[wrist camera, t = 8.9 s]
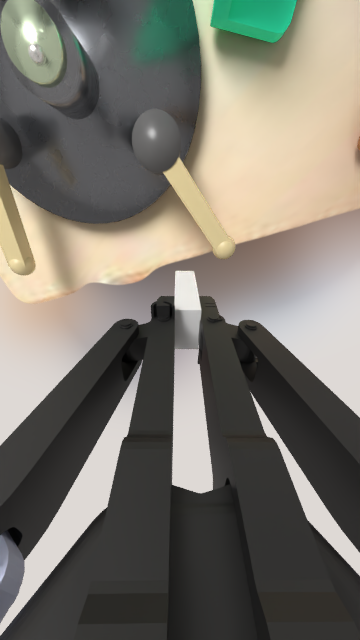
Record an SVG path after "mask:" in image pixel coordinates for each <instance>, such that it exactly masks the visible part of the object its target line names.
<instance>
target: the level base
mask: <svg viewBox="0 0 360 640" xmlns="http://www.w3.org/2000/svg"><path fill="white" fill-rule="evenodd" d="M200 88H201V59H200V46H199V35H198V29H197V23H196V17H195V11H194V6H193V2H192V0H0V118H2V119H4V120H5V121H6V122H7V123H8V124H9V125H10V126H11V127H12V128H13V129H14V131H15V132H16V134H17V135H18V137H19V140H20V142H21V146H22V159H21V162H20V163H19V165H18V166H17V167H15V168H12V169H5V172H6V175H7V178H8V182H9V184H10V185H11V186H12V187H13V188H15V189H16V190H17V191H18V192H20V193H21V194H22V195H23V196H25V197H26V198H27V199H29V200H30V201H32V202H34V203H35V204H37V205H38V206H40V207H42V208H44V209H46V210H47V211H49V212H51V213H53V214H56V215H58V216H61V217H64V218H66V219H70V220H74V221H78V222H84V223H94V224H96V223H110V222H116V221H120V220H123V219H126V218H129V217H132V216H134V215H135V214H137V213H139V212H141V211H143V210H145V209H146V208H147V207H149V206H150V205H151V204H153V203H154V202H155V201H156V200H157V199H158V198H159V197H160V196H161V195H162V194H163V193H164V192H165V191H166V190H167V189H168V187H169V186H170V185H171V184H170V182H169V181H168V179H167V178H166V176H165V175H157V174H154V173H152V172H150V171H149V170H148V169H146V168H145V167H143V166H142V165H141V163H140V162H139V161H138V159H137V158H136V155H135V153H134V150H133V146H132V132H133V128H134V125H135V122H136V121H137V119H138V118H139V116H140V115H141V114H142V113H144V112H145V111H147V110H150V109H160V110H163V111H165V112H166V113H168V114H169V115H170V116H171V117H172V118H173V119H174V121H175V122H176V124H177V126H178V128H179V132H180V136H181V152H180V159H181V161H182V163H183V162H184V160H185V157H186V155H187V153H188V150H189V147H190V143H191V140H192V137H193V133H194V129H195V124H196V119H197V114H198V107H199V98H200Z"/></svg>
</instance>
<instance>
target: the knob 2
mask: <svg viewBox="0 0 360 640" xmlns="http://www.w3.org/2000/svg"><path fill="white" fill-rule="evenodd" d="M132 146H133V150H134V153H135V155H136V158H137V159H138V161H139V162H140V163H141V165H142V166H143V167H145V168H146V169H148V170H149V171H150V172H152V173H154V174H157V175H165V176H166V178H167V179H168V181H169V182H170V184H171V185H172V187H173V188H174V190H175V191H176V193H177V194H178V196H179V197H180V199H181V200H182V202H183V203H184V205H185V206H186V208H187V209H188V211H189V212H190V214H191V215H192V217H193V218H194V220H195V221H196V223H197V224H198V226H199V227H200V229H201V230H202V232H203V233H204V235H205V236H206V238H207V239H208V241H209V242H210V244H211V245H212V250H213V253H214V255H215V256H216V257H217V258H219V259H227V258H229V257H230V256H231V255H232V254H233V253H234V251H235V243H234V240H233V239H232V238H231V237H229V236H227V234H226V233H225V231H224V229H223V228H222V226H221V224H220V223H219V221H218V220H217V218H216V216H215V215H214V213H213V211H212V210H211V208H210V207H209V205H208V203H207V202H206V200H205V198H204V197H203V195H202V194H201V192H200V190H199V189H198V187H197V185H196V184H195V182H194V181H193V179H192V177H191V176H190V174H189V172H188V171H187V169H186V168H185V166H184V164H183V163H182V161H181V159H180V152H181V136H180V132H179V128H178V126H177V124H176V122H175V121H174V119H173V118H172V117H171V116H170V115H169V114H168V113H166V112H165V111H163V110H160V109H150V110H147V111H145V112H144V113H142V114H141V115H140V116H139V118H138V119H137V121H136V122H135V125H134V128H133V132H132Z"/></svg>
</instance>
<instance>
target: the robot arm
mask: <svg viewBox="0 0 360 640" xmlns="http://www.w3.org/2000/svg"><path fill="white" fill-rule="evenodd" d="M151 314H152V319H151V321H150V322H148V323H146V324H142V325H138V322H137V321H135V320H132V319H123V320H120V321H118V322H116V323H115V324H114V325H113V326H112V327H111V328H110V329H109V330H108V331H107V332H106V334H104V336H103V337H102V338H101V339H100V340H99V341H98V342H97V343H96V344H95V345H94V346H93V347H92V348H91V349H90V350H89V352H88V353H87V354H86V355H85V356H84V357H83V358H82V359H81V360H80V361H79V362H78V363H77V364H76V365H75V367H74V368H73V369H72V370H71V371H70V372H69V373H68V374H67V375H66V376H65V377H64V378H63V379H62V380H61V381H60V383H59V384H58V385H57V386H56V387H55V388H54V389H53V390H52V391H51V392H50V393H49V394H48V396H46V398H45V399H44V400H43V401H42V402H41V403H40V404H39V405H38V406H37V407H36V408H35V409H34V410H33V411H32V413H31V414H30V415H29V416H28V417H27V418H26V419H25V420H24V421H23V422H22V423H21V424H20V425H19V427H18V428H17V429H16V430H15V431H14V432H13V433H12V434H11V435H10V436H9V437H8V438H7V439H6V440H5V441H4V442H3V444H2V445H1V446H0V623H1V621H2V619H3V618H4V616H5V614H6V613H7V611H8V609H9V608H10V606H11V605H12V604H13V603H14V601H15V599H16V597H17V595H18V593H19V589H20V586H21V584H22V580H23V576H24V560H25V559H26V557H27V556H28V555H29V554H30V552H31V551H32V550H33V548H34V547H35V545H36V544H37V543H38V541H39V540H40V538H41V537H42V535H43V534H44V533H45V531H46V530H47V528H48V527H49V525H50V523H51V522H52V520H53V518H54V517H55V515H56V513H57V512H58V510H59V508H60V507H61V505H62V503H63V501H64V500H65V498H66V496H67V494H68V492H69V491H70V489H71V487H72V485H73V483H74V482H75V480H76V478H77V477H78V475H79V473H80V471H81V469H82V468H83V466H84V464H85V462H86V460H87V459H88V457H89V455H90V453H91V452H92V450H93V448H94V446H95V445H96V443H97V441H98V439H99V437H100V436H101V434H102V432H103V430H104V429H105V427H106V425H107V423H108V421H109V420H110V418H111V416H112V414H113V413H114V411H115V409H116V407H117V405H118V404H119V402H120V400H121V398H122V397H123V395H124V393H125V391H126V389H127V388H128V386H129V384H130V382H131V381H132V379H133V377H134V375H135V374H136V372H137V370H138V368H139V366H140V365H141V362H142V360H143V363H142V368H141V374H140V378H139V383H138V388H137V393H136V398H135V403H134V408H133V413H132V418H131V422H130V427H129V432H128V435H127V437H125V438H124V440H123V441H122V445H121V448H120V453H119V457H118V462H117V466H116V471H115V475H114V480H113V485H112V489H111V494H110V498H109V503H108V507H107V508H106V509H105V510H104V511H102V512H101V513H100V514H99V515H98V516H97V517H96V518H95V519H94V521H93V522H92V523H91V524H90V525H89V527H88V528H87V529H86V530H85V531H84V533H83V534H82V535H81V536H80V538H79V539H78V540H77V541H76V543H75V544H74V545H73V546H72V548H71V549H70V550H69V551H68V553H67V554H66V555H65V557H64V558H63V559H62V560H61V561H60V563H59V564H58V565H57V566H56V567H55V569H54V570H53V571H52V572H51V574H50V575H49V576H48V578H47V579H46V580H45V581H44V582H43V584H42V585H41V586H40V587H39V589H38V590H37V591H36V593H35V594H34V595H33V596H32V597H31V599H30V600H29V601H28V602H27V604H26V605H25V606H24V607H23V609H22V610H21V611H20V612H19V613H18V615H17V616H16V617H15V618H14V620H13V621H12V623H10V625H9V626H8V627H7V628H6V630H5V631H4V632H3V633H2V635H1V636H0V640H360V576H359V575H358V574H357V573H356V572H355V571H354V570H353V568H352V567H351V566H350V565H349V564H348V563H347V562H346V561H345V560H344V559H343V558H342V557H341V555H339V553H338V552H337V551H336V550H335V549H334V548H333V547H332V546H331V545H330V544H329V543H328V542H327V540H326V539H325V538H324V537H323V536H322V535H321V534H320V533H319V532H318V531H317V530H316V529H315V528H314V527H313V525H311V523H309V521H308V520H307V518H306V516H305V513H304V511H303V508H302V506H301V503H300V500H299V498H298V495H297V493H296V490H295V488H294V485H293V482H292V480H291V477H290V475H289V472H288V470H287V467H286V464H285V462H284V459H283V457H282V454H281V452H280V449H279V447H278V445H277V443H276V442H275V440H274V439H273V438H270V437H267V436H266V434H265V432H264V430H263V427H262V424H261V421H260V418H259V415H258V413H257V410H256V407H255V404H254V401H253V398H252V396H251V393H252V394H253V396H254V398H255V399H256V401H257V402H258V404H259V405H260V407H261V408H262V410H263V411H264V413H265V415H266V416H267V418H268V419H269V421H270V422H271V424H272V425H273V427H274V428H275V430H276V431H277V433H278V434H279V436H280V438H281V439H282V441H283V442H284V444H285V445H286V447H287V448H288V450H289V451H290V453H291V454H292V456H293V457H294V459H295V460H296V462H297V464H298V465H299V467H300V468H301V470H302V471H303V473H304V474H305V476H306V477H307V479H308V480H309V482H310V484H311V485H312V486H313V488H314V490H315V491H316V493H317V494H318V496H319V497H320V499H321V500H322V502H323V503H324V505H325V506H326V508H327V509H328V511H329V512H330V514H331V515H332V517H333V518H334V520H335V521H336V522H337V524H338V525H339V526H340V528H341V530H342V531H343V532H344V533H345V534H346V536H347V537H348V538H349V540H350V541H351V542H352V543H353V545H354V546H355V547H356V548H357V549H358V551H359V552H360V418H359V417H358V416H357V415H356V414H355V413H354V412H353V411H352V410H351V409H350V408H349V407H348V406H347V405H346V404H345V403H344V402H343V401H342V400H340V399H339V398H338V397H337V396H336V395H335V394H334V393H333V392H332V391H331V390H330V389H329V388H328V387H327V386H326V385H324V383H322V382H321V381H320V380H319V379H318V378H317V377H316V376H315V375H314V374H313V373H312V372H311V371H310V370H309V369H308V368H307V367H306V366H305V365H304V364H302V363H301V362H300V361H299V360H298V359H297V358H296V357H295V356H294V355H293V354H292V353H291V352H290V351H289V350H288V349H287V348H285V346H284V345H282V344H281V343H280V342H279V341H278V340H277V339H276V338H275V337H274V336H273V335H272V334H271V333H270V332H269V331H268V330H267V329H266V328H264V327H263V326H262V325H261V324H260V323H258V322H256V321H253V320H243V321H241V322H240V323H239V326H235V325H231V324H227V323H226V322H225V319H224V318H223V317H222V316H220V315H219V312H218V309H217V306H216V304H215V300H214V299H213V298H212V297H210V296H208V297H207V296H199V295H198V290H197V284H196V279H195V274H194V271H176V274H175V296H161V297H159V299H157V301H156V302H154V303H153V304H152V305H151ZM198 345H199V355H198V364H200V371H201V379H202V388H203V396H204V405H205V413H206V421H207V430H208V438H209V447H210V455H211V464H212V472H213V490H212V491H209V492H206V493H202V494H200V493H196V492H193V491H189V490H186V489H183V488H180V487H177V486H174V485H172V453H173V448H172V447H173V402H174V401H173V400H174V398H173V397H174V349H198ZM250 392H251V393H250Z"/></svg>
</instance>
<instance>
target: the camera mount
mask: <svg viewBox="0 0 360 640" xmlns="http://www.w3.org/2000/svg"><path fill="white" fill-rule="evenodd" d="M296 2H297V0H214V4H213V11H212V17H211V24H210V26H211V27H215V28H219V29H222V30H226V31H230V32H234V33H237V34H241V35H245V36H249V37H252V38H256V39H260V40H263V41H267V42H271V43H274V42H277V41H278V40H279V39H280V38H281V37H282V35H283V34H284V32H285V31H286V29H287V28H288V26H289V25H290V23H291V20H292V17H293V13H294V9H295V6H296Z"/></svg>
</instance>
